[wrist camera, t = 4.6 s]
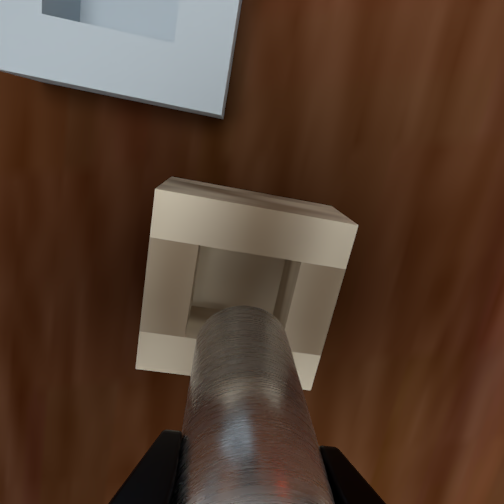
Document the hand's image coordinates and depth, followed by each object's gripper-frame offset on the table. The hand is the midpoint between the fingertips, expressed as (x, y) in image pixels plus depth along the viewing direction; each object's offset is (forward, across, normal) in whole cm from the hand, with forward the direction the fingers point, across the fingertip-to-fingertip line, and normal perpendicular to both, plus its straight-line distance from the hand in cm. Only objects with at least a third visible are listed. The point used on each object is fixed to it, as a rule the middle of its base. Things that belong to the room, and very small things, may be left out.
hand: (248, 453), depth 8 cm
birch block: (+12, 0, 0) cm, 12 cm away
